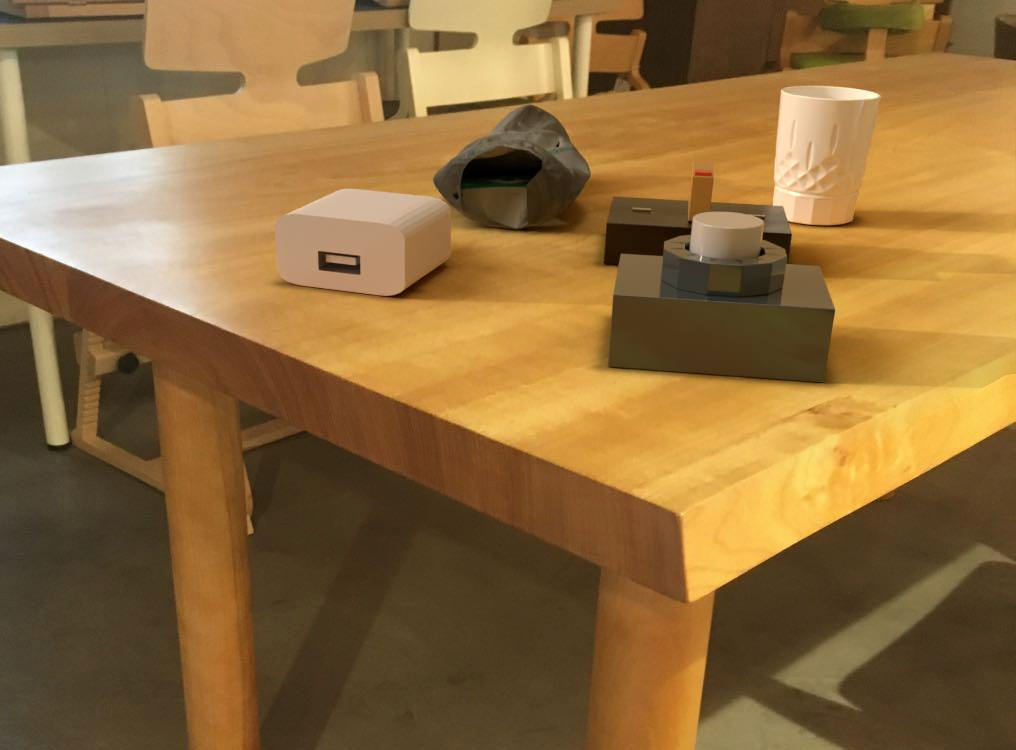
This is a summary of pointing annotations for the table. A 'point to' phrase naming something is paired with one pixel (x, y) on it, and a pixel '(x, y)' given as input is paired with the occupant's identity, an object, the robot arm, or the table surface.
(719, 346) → the button base box
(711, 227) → the white push button
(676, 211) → the panel
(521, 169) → the grey pouch
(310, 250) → the charger
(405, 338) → the table surface
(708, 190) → the tan block
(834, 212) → the white cup
